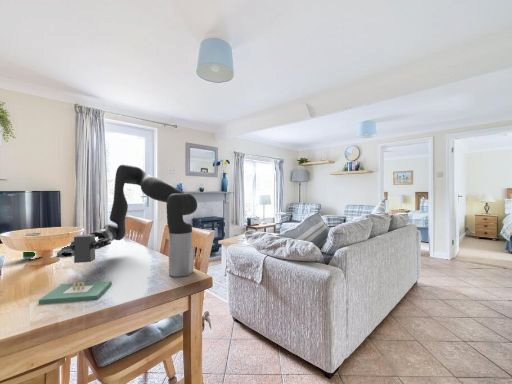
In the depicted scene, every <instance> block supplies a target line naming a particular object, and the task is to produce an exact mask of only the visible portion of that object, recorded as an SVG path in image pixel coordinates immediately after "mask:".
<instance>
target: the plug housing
mask: <svg viewBox="0 0 512 384" xmlns="http://www.w3.org/2000/svg"><path fill="white" fill-rule="evenodd" d="M73 241H74V255H73V262H74V264H79V263H80V264H81V263H91V262H93V261H94V260H96V249H95V248H94V249H90V246H89V245H90V244H91V243H93V242H95V234H94V235H90V234H79V235H76V236H74V237H73Z"/></svg>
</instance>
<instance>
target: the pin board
mask: <svg viewBox="0 0 512 384" xmlns="http://www.w3.org/2000/svg"><path fill="white" fill-rule="evenodd" d="M112 284H113V281H111V280H106V281H92V282H91V281H90V282H85V281H81V282H80V281H77V283H76V281H74V282H72V283H62V284H59V286H57V287H56V288H54V289H52V290H51V291H50V292H48V293H46V294H45V295H43V296H42V297H41V298H39V299H38V305H39V304H40V305H42V304H52V303H55V304H56V303H64V302H78V301H89V300H91V301H92V300H98V299H99V298H100V297H101V296H102V295H103V294H104V293H105V292H106V291H107V290H108V289H109V288H110V287H111V286H112Z"/></svg>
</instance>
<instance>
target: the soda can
mask: <svg viewBox="0 0 512 384" xmlns="http://www.w3.org/2000/svg"><path fill="white" fill-rule="evenodd" d="M39 235H43V234H42V233H41V232H33V233H27V234H25V235H24V236H39ZM34 256H35V253H34V252H23V251H22V258H23V259H31V258H33V257H34Z"/></svg>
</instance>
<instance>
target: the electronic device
mask: <svg viewBox="0 0 512 384" xmlns="http://www.w3.org/2000/svg"><path fill="white" fill-rule="evenodd" d="M66 246H67V245H66ZM64 252H65V253H66V254H68V255H67V256H64V254H65V253H64ZM62 253H64V254H62ZM56 255H57V256H58V257H60V256H61V257H60V258H62V257H63V258H65V257H72V256H73V257H74V250H72V249H71V244H69V246H67V247H64V248H62V247H61V249H60V250H58V251H57V252H56Z"/></svg>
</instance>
